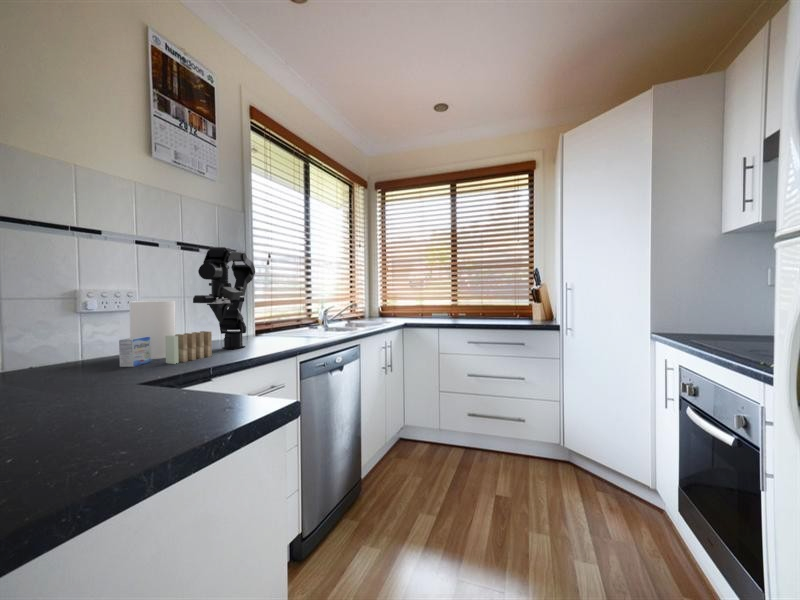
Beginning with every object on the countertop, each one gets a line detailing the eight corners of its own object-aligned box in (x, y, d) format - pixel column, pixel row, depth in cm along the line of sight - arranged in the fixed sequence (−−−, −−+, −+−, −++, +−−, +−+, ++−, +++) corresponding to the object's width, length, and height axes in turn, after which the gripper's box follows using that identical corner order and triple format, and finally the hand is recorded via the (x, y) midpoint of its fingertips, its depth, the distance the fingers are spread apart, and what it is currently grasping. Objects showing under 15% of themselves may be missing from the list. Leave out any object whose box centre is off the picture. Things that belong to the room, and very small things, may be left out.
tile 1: (203, 355, 130) (203, 331, 130) (211, 356, 129) (211, 331, 129) (200, 356, 129) (199, 331, 129) (208, 357, 128) (208, 332, 127)
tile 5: (170, 362, 118) (169, 335, 118) (178, 363, 117) (178, 335, 117) (165, 363, 117) (165, 335, 117) (174, 364, 116) (174, 336, 115)
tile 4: (179, 360, 121) (178, 334, 121) (187, 361, 120) (187, 334, 120) (175, 361, 120) (174, 334, 120) (183, 362, 119) (183, 335, 118)
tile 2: (195, 357, 127) (195, 332, 127) (204, 357, 126) (203, 332, 126) (192, 357, 126) (191, 332, 126) (200, 358, 125) (200, 333, 124)
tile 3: (187, 358, 124) (187, 333, 124) (196, 359, 123) (195, 333, 123) (183, 359, 123) (183, 333, 123) (192, 360, 122) (191, 334, 121)
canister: (176, 357, 128) (175, 301, 127) (129, 361, 120) (128, 302, 119) (175, 351, 139) (174, 300, 138) (131, 355, 131) (130, 301, 131)
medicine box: (133, 367, 111) (132, 339, 111) (119, 367, 111) (118, 339, 111) (151, 362, 119) (150, 336, 119) (138, 362, 119) (137, 336, 119)
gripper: (214, 279, 123) (215, 324, 123) (255, 280, 140) (255, 320, 140) (191, 279, 127) (192, 323, 127) (233, 281, 144) (233, 319, 144)
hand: (220, 321), depth 135 cm, fingers closed
